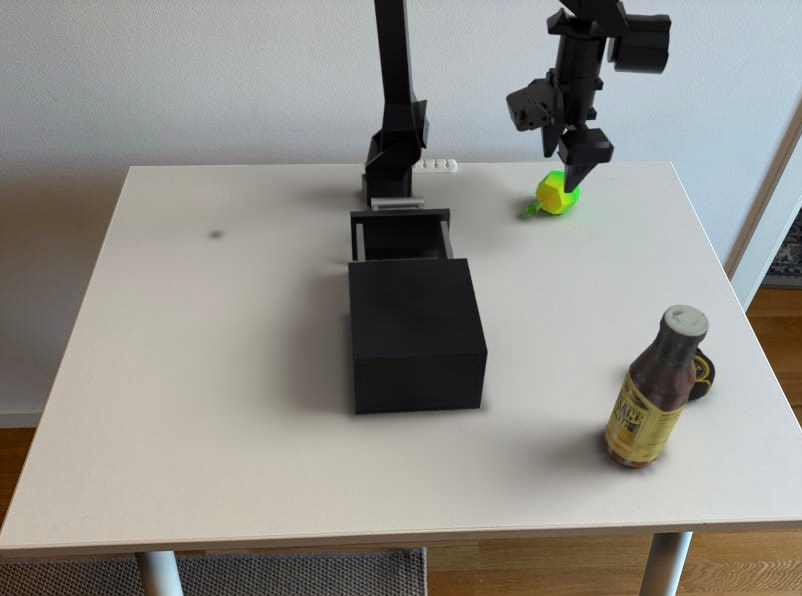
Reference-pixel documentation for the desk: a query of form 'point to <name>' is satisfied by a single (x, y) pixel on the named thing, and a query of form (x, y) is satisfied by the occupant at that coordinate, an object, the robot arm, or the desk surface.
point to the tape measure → (702, 375)
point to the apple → (553, 195)
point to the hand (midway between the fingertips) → (557, 174)
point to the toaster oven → (415, 336)
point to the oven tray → (400, 231)
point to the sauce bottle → (656, 389)
